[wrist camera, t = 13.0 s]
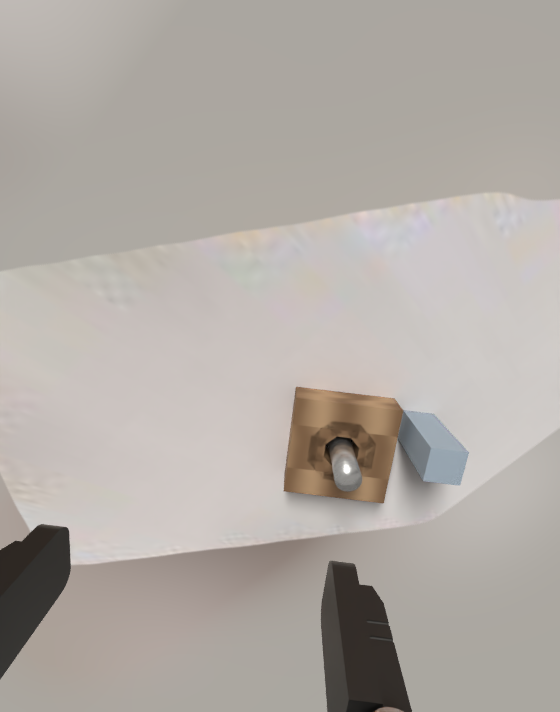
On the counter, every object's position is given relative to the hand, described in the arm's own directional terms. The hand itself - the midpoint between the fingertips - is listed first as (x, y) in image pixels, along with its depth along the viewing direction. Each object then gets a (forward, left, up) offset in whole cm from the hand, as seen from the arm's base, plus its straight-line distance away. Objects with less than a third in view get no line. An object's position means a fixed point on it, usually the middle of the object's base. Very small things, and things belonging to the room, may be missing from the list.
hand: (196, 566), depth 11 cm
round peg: (-11, +13, -36) cm, 40 cm away
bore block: (-11, +13, -36) cm, 40 cm away
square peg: (-21, +10, -36) cm, 43 cm away
